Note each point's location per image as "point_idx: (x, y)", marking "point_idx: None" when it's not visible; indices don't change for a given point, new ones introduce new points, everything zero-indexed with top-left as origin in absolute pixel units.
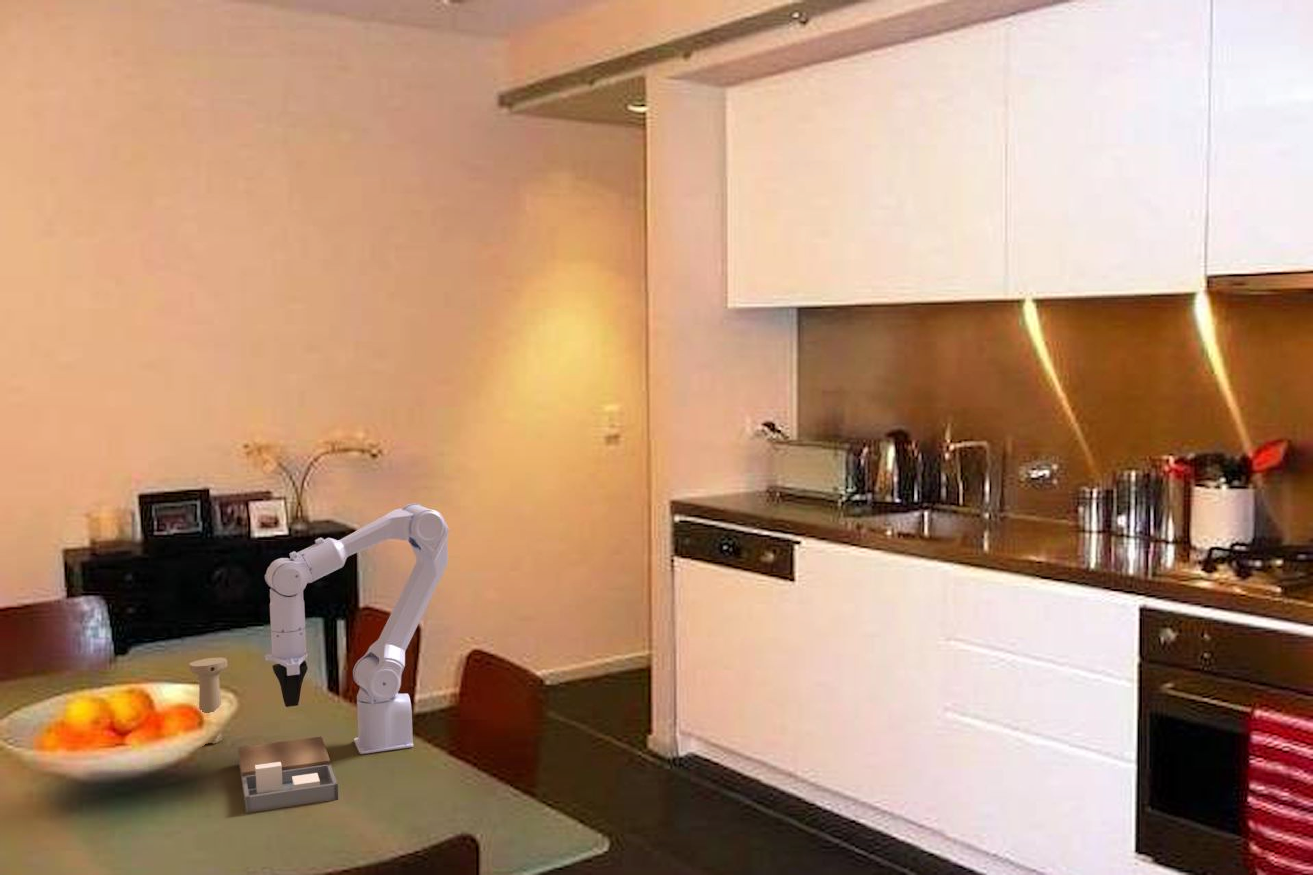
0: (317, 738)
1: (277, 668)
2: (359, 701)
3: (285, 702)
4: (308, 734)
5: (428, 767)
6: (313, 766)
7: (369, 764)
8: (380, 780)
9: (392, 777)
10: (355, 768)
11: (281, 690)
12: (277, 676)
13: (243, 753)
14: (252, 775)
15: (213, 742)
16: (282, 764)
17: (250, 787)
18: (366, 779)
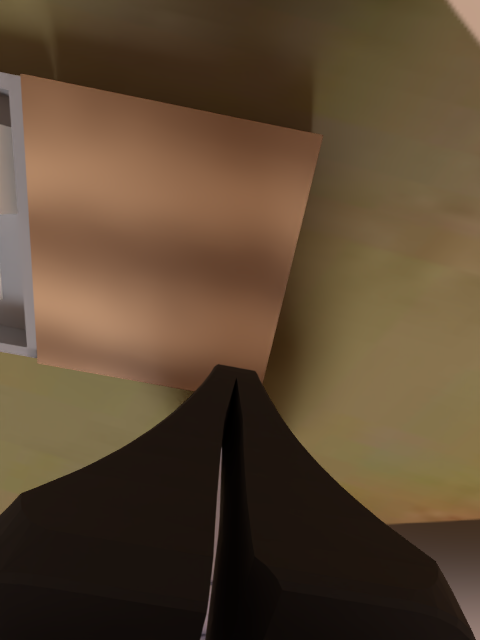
0: None
1: (71, 631)
2: (212, 580)
3: (209, 375)
4: (424, 389)
5: None
6: (33, 315)
7: (119, 432)
8: (8, 419)
9: (18, 442)
10: (107, 402)
11: (259, 408)
12: (34, 491)
13: (239, 137)
14: (17, 116)
15: None
16: (54, 234)
17: None
18: (25, 399)
